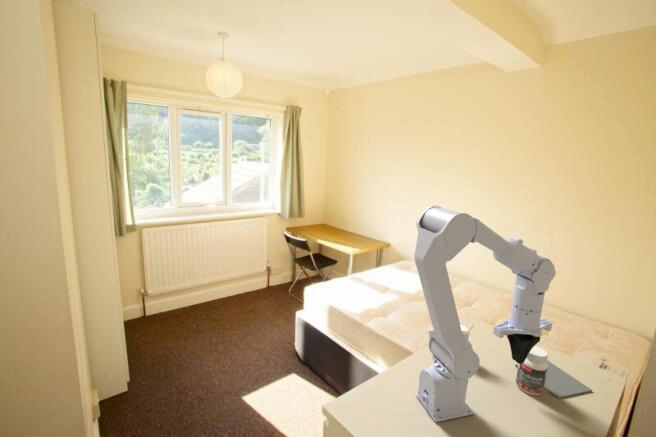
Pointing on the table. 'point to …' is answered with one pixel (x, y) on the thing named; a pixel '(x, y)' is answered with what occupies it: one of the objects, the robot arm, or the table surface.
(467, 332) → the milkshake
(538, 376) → the pill bottle
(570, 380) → the mat
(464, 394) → the robot arm
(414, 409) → the table surface
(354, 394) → the table surface
